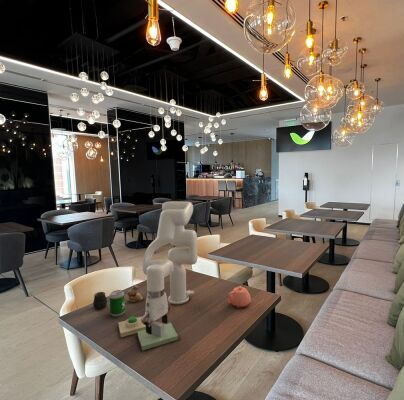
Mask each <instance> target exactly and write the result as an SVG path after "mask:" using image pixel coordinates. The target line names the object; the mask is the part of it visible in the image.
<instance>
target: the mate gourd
mask: <svg viewBox="0 0 404 400" xmlns="http://www.w3.org/2000/svg"><path fill="white" fill-rule="evenodd" d="M92 305H93V308H95V309H96V310H102V309H104V308H105V307H106V306H107V305H108V298H107V296H106V293H105V291H98V292H95V293H94V295H93V302H92Z"/></svg>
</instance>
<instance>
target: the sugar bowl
mask: <svg viewBox="0 0 404 400" xmlns="http://www.w3.org/2000/svg"><path fill="white" fill-rule="evenodd" d="M251 301H252V299H251V295H250V293H249V291H248V289H247V288H246V287H243V286H241V285H239V286H237V287H234V288H233V289H232V291H230V292H229V293H228V300H227V303H228V304H231V305H232V306H234V307H236V308H238V309H240V308H244V307H245V308H246V307H247V306H249V305H250V303H252V302H251Z"/></svg>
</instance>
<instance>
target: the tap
mask: <svg viewBox="0 0 404 400" xmlns="http://www.w3.org/2000/svg"><path fill="white" fill-rule="evenodd" d="M164 324H165V323H162V322H159V321H157V320H155V321H152V323H151V326H152V333H153V334H155V335H158V336H160V337H162V336H163V335H165V334H164Z"/></svg>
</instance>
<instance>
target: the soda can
mask: <svg viewBox="0 0 404 400" xmlns="http://www.w3.org/2000/svg"><path fill="white" fill-rule="evenodd" d="M108 299H109V314H110V315H111V316H112V317H113V318H114V317H121V316H122V315H124V313H125V312H126V300H125V299H126V296H125V292H124V291H123V290H122V289H117V290H113V291H111V293H110V294H109V297H108Z"/></svg>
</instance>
